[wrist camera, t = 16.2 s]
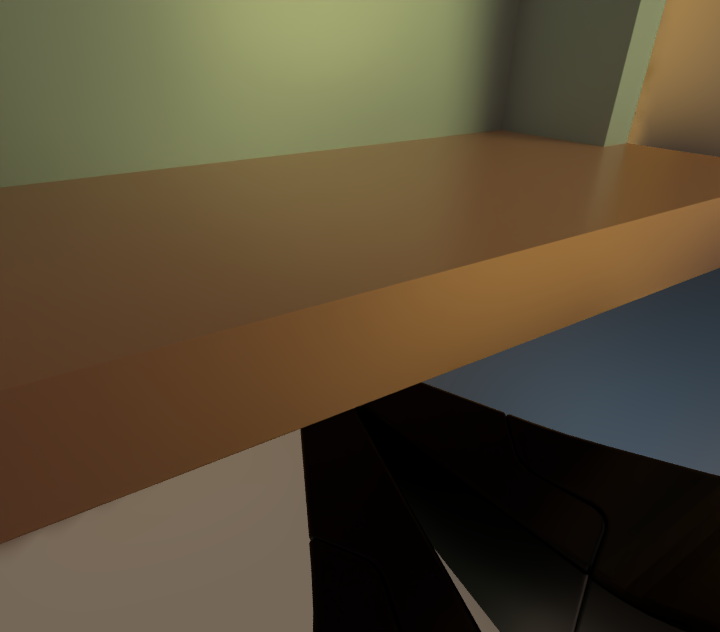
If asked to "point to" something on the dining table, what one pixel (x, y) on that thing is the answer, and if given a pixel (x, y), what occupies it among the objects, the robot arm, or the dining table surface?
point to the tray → (304, 215)
